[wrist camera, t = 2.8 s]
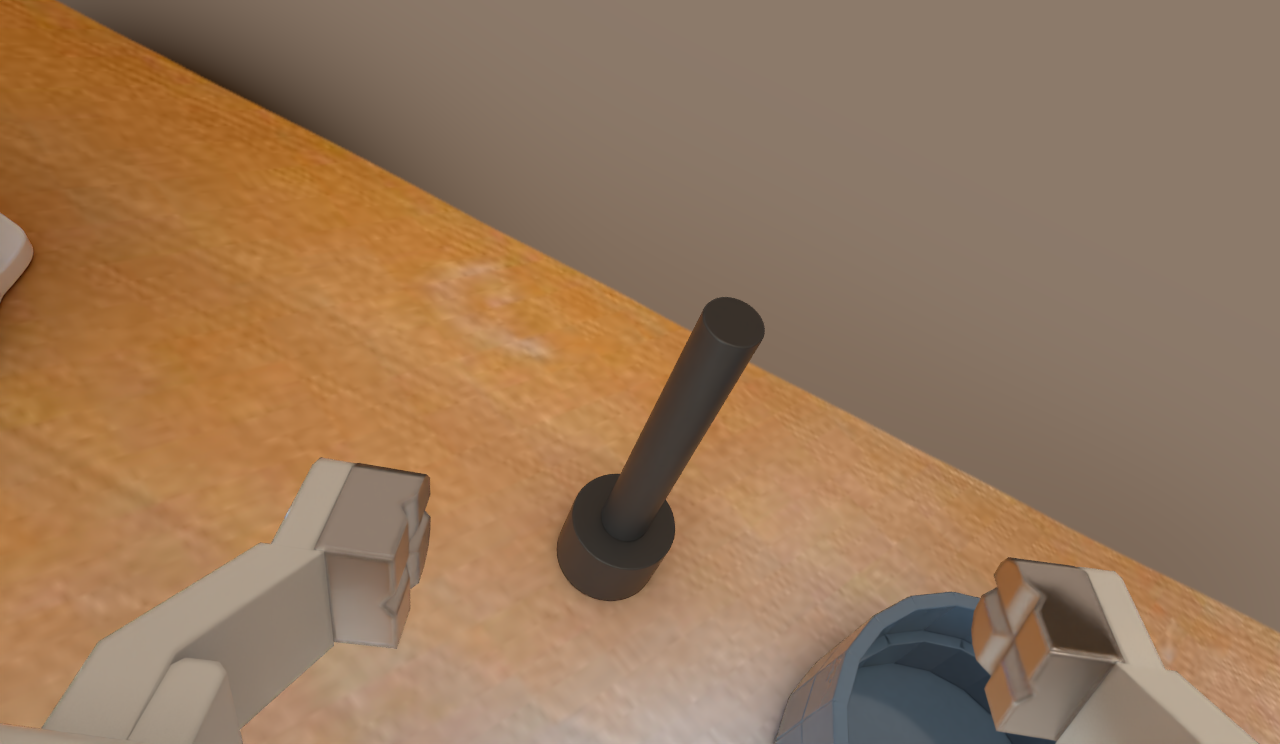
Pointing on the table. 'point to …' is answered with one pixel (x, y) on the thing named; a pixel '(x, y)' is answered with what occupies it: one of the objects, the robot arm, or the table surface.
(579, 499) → the black rod with base
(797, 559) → the table surface
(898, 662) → the bowl
